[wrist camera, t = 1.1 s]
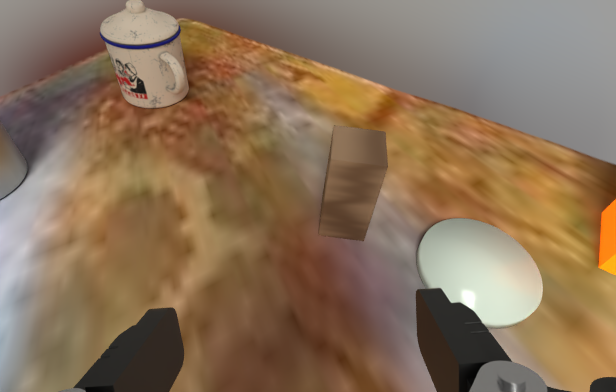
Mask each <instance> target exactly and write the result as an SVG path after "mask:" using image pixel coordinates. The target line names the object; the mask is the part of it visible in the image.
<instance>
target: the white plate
mask: <svg viewBox="0 0 616 392" xmlns="http://www.w3.org/2000/svg"><path fill="white" fill-rule="evenodd" d="M416 259H417V268H418V272H419V275H420V278H421V280H422V282H423V284H424V286H425V287H426V289H431V288H441V289H442V290H443V292H444V293H445V295H446V296H447V298H448V299H449V301H450V302H451V303H456V302H461V303H462V304H464V305H466V306H467V307H469V308H470V309H472V310H474V312H475V313H476V314H477V316H478V317H479V318H480V320H481V321H482V324H484V325H485V326H486V328H507V327H511V326H514V325H516V324H519V323H520V322H522V321H523V320H525V319H526V318H527V317H528V316H529V315H531V314H532V313H533V312H534V311H535V310H536V308H537V307H538V305H539V304H540V301H541V299H542V293H543V285H542V279H541V275H540V272H539V270H538V268H537V266H536V264H535V262H534V260H533V259H532V257H531V256H530V255H529V253H528V252H527V251H526V250H525V249H524V248H523V247H522V246H521V245H520V244H519V243H518V242H517V241H516V240H515V239H513V238H512V237H511V236H509V235H508V234H506V233H505V232H503V231H502V230H500V229H498V228H496V227H494V226H492V225H490V224H487V223H484V222H481V221H477V220H472V219H465V218H454V219H448V220H444V221H441V222H439V223H437V224H435V225H434V226H432V227H431V228H430V229H429V230H428V231H427V232H426V234H425V235H424V237H423V239H422V241H421V243H420V245H419V247H418V251H417V257H416Z"/></svg>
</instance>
